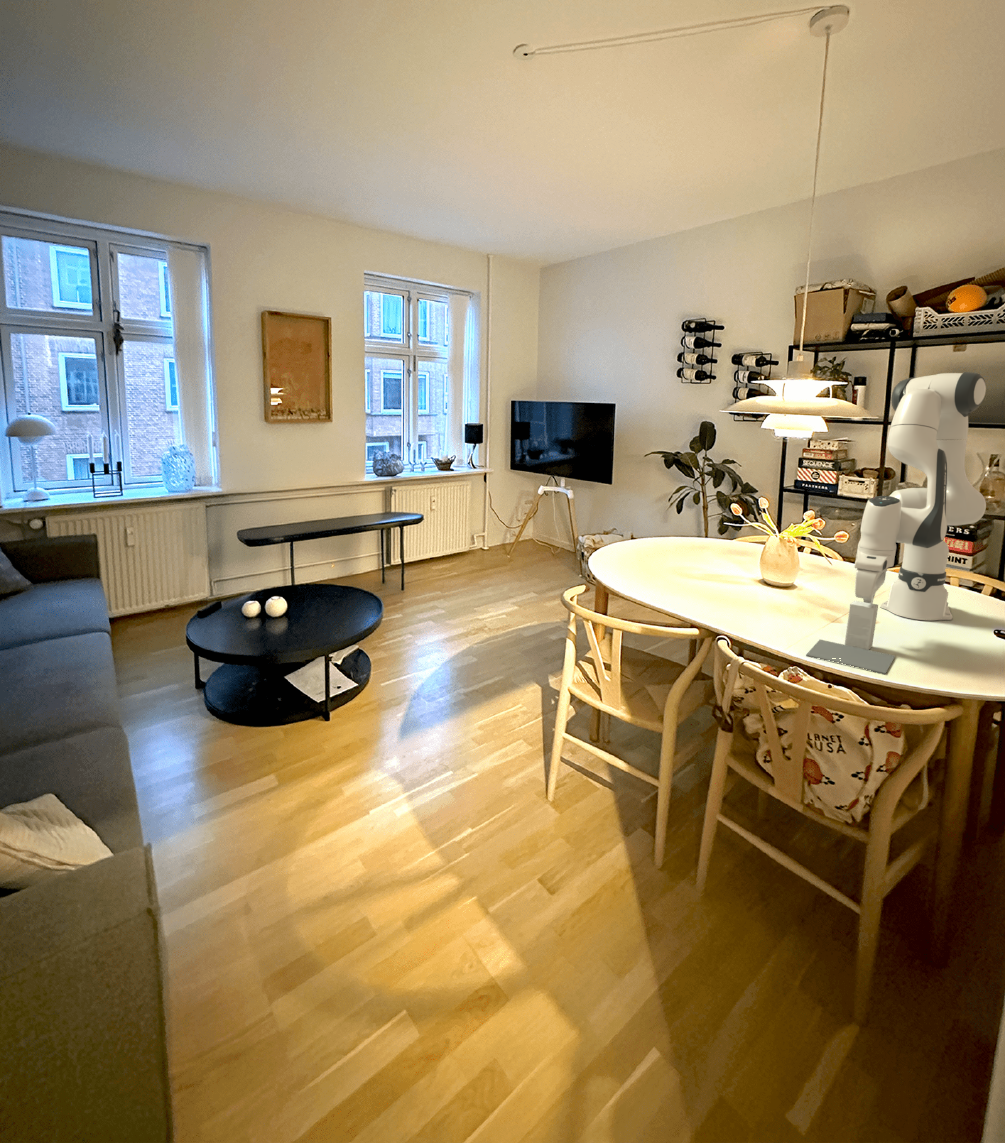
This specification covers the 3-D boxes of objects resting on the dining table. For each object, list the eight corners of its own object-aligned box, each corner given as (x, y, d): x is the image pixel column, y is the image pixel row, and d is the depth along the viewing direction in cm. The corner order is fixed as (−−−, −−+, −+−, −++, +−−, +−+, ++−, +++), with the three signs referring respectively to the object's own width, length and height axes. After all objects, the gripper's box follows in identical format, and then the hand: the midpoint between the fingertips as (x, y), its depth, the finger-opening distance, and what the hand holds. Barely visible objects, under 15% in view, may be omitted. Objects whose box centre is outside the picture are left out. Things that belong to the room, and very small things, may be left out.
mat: (819, 640, 172) (819, 639, 172) (894, 657, 161) (895, 655, 160) (806, 656, 162) (806, 654, 162) (885, 674, 151) (885, 673, 151)
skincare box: (872, 646, 168) (879, 604, 164) (868, 651, 165) (875, 608, 161) (847, 640, 172) (854, 599, 168) (843, 645, 168) (849, 603, 165)
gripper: (869, 548, 176) (862, 595, 179) (853, 563, 161) (846, 613, 164) (895, 552, 172) (887, 599, 175) (881, 567, 157) (873, 618, 160)
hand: (867, 606), depth 170 cm, fingers closed
